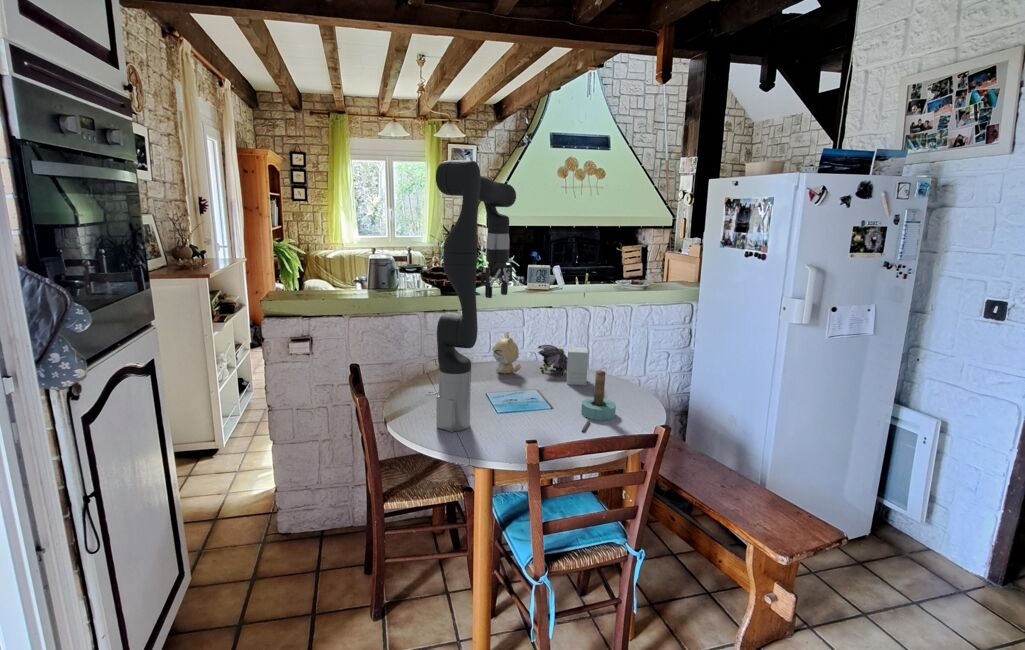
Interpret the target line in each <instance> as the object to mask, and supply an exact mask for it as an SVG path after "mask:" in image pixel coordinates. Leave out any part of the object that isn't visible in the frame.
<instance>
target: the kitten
mask: <svg viewBox="0 0 1025 650" xmlns="http://www.w3.org/2000/svg"><path fill="white" fill-rule="evenodd" d="M519 352H520V351H519V347H518V344H517V343H516V342H515V340H514V339H513V338H512V337H510V335H509V333H508V332H507V331H506V332H505V334H504V338H501V339H499V340H498V341H497V342H496V343H495V345H494V346H493V347H492V355H493V358H494V359H495V360H496V362H498V364H497V366H496V371H495V372H497V374H500V373H501V374H511V373H517V372H518V371H520V370H521V368H522V365H521V363H520V364H519V363H518V364H516V365H515V367H514V365H513V363H514V362H516V361H517V359H518V358H519V354H520V353H519Z"/></svg>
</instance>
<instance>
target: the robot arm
mask: <svg viewBox="0 0 1025 650" xmlns="http://www.w3.org/2000/svg"><path fill="white" fill-rule="evenodd" d="M435 183H436V186H437V189H438V190H439V191H440V192H441V193H442V194H444V195H446V196H454V197H455V196H457V197H462V201H461V202H462V204H461V209H460V213H459V216H458V218H457V220H456V222H455V224H454V225H453V227H452V228H451V230H450V231H449V233H448V235H447V237H446V239H445V241H444V244H443V257H442V258H443V260H442V261H443V263H442V264H443V271H444V274H445V275H446V277H447V279H448V280H449V283H450V285H451V287H452V288H453V290H454V291H455V293H456V295H457V297H458V300H459V303H460V308H461V314H452V313H444V314H442V315H441V316H440V317H439V320H438V322H437V325H436V341H437V342H436V344H437V346H436V347H437V362H438V392H439V393H438V395H437V396H436V423H435V424H436V426H435V427H436V428H437V429H441V430H444V431H447V432H449V433H454V432H459V431H463V430H467V429H468V428H470V426H471V396H472V395H471V393H472V392H471V391H472V389H471V387H472V386H471V385H472V360H470V358H469V357H467V356H465V355H463V354H461V353H460V352H459V351H458V350H457V349H456V348H458V349H472V348H474V346H475V345H476V342H477V338H478V312H477V272H478V271H477V267H478V217H479V216H478V214H479V204H480V203H479V202H482V203H483V204H484V209H485V213H486V217H487V231H486V232H487V235H486V242H485V243H486V244H485V245H486V247H485V248H486V252H485V253H486V254H485V256H486V257H485V260H486V262H487V263H488V265H487V266H486V265H485V266H483V265H482V266H481V272H480V275H481V276H480V285H482V286H485V287H484V289H485V290H484V291H485V292H484V295H485V298H486V299H492V298H493V284H494V283H495V282H496V281H497V280H498V279H499V280H500V283H501V284H500V294H501V295H502V296H507V295H508V289H509V283H510V282H512V281H513V264H512V263H509V261H510V217H509V216H508V215H506V214H503V213H502V214H501V213H500V212H499V211H498V210H497V208H509V207H512V206H513V205H514V204H515V202H516V200H517V193H516V190H515V188H514V187H513V186H512V185H511V184H510V183H509V184H508V183H506V182H497V181H495V180H493V179H491V178H489V177H486V176H482V175H481V168H480V166H479V164H478V162H476V161H475V160H470V159H469V160H467V159H466V160H460V159H459V160H457V159H455V160H454V159H451V160H444V161H441V163H439V164H438V166H437V167H436V171H435Z"/></svg>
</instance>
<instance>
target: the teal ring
mask: <svg viewBox="0 0 1025 650" xmlns="http://www.w3.org/2000/svg"><path fill="white" fill-rule="evenodd" d="M616 408H617V405H616V403H615V402H614V401H612V400H611V399H607V398H604V400H603V406H602V407H601V406H594V397H588V398H585V399H583V400H582V401H581V411H580V413H581V416H583V417H584V418H586V417H587V418H586V419H589V418H590V420H593V419H595V420H594V421H607V420H606V419H610V420H612V419H614V418H615V417H616V410H617V409H616ZM614 416H615V417H614ZM613 417H614V418H613ZM611 418H612V419H611Z"/></svg>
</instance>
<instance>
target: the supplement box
mask: <svg viewBox="0 0 1025 650" xmlns="http://www.w3.org/2000/svg"><path fill="white" fill-rule="evenodd" d="M567 358H568V364H567V370H566V385H574V386H575V385H576V386H587V380H588V365H589V363H588V362H589V361H588V360H589V350H588V348H587V347H578V346H577V347H576V346H575V347H573V346H568V348H567Z"/></svg>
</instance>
